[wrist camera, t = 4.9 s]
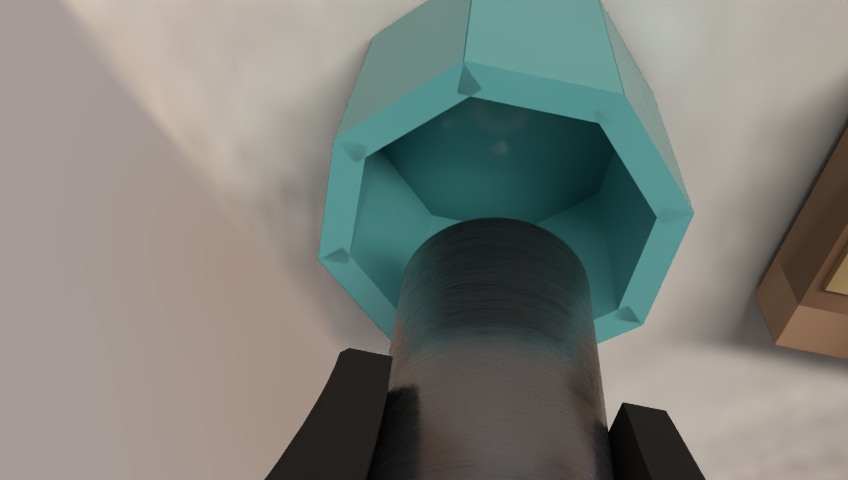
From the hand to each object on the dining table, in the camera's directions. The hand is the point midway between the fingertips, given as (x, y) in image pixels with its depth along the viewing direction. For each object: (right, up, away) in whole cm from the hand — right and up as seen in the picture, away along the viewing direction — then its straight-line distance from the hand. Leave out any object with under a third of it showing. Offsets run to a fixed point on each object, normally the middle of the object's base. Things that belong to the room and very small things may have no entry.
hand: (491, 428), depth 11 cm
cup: (+1, +6, +8) cm, 10 cm away
